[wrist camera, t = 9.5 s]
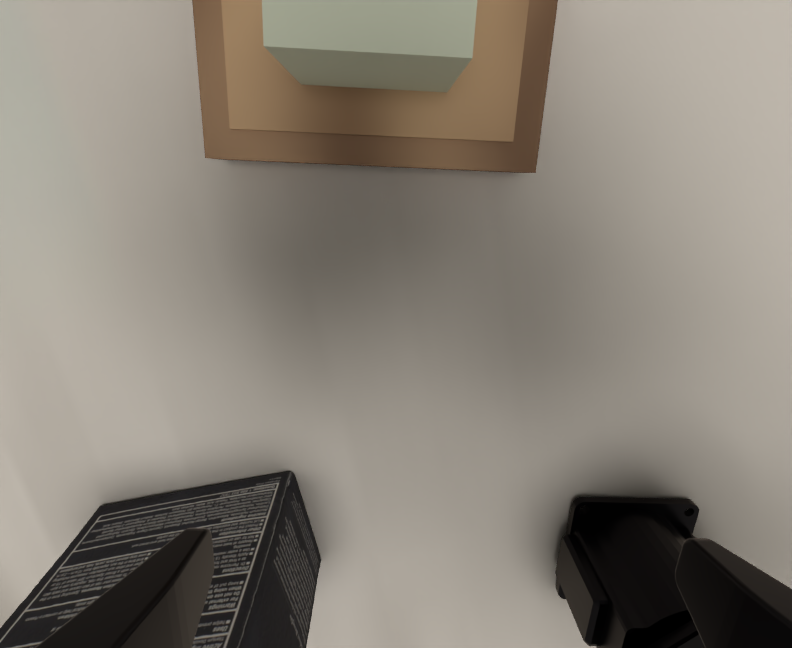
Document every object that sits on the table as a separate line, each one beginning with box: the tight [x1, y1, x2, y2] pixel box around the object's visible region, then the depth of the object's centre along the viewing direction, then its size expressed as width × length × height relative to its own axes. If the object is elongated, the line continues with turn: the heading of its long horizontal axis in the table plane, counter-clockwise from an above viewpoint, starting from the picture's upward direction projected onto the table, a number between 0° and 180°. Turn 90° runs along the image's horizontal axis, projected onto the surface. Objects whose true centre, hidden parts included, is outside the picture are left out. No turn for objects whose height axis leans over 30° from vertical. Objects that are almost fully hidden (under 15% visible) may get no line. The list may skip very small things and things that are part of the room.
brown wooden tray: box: [192, 0, 558, 173], centre depth 16 cm, size 12×10×2 cm
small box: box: [0, 471, 321, 648], centre depth 20 cm, size 11×6×10 cm, turn 102°
